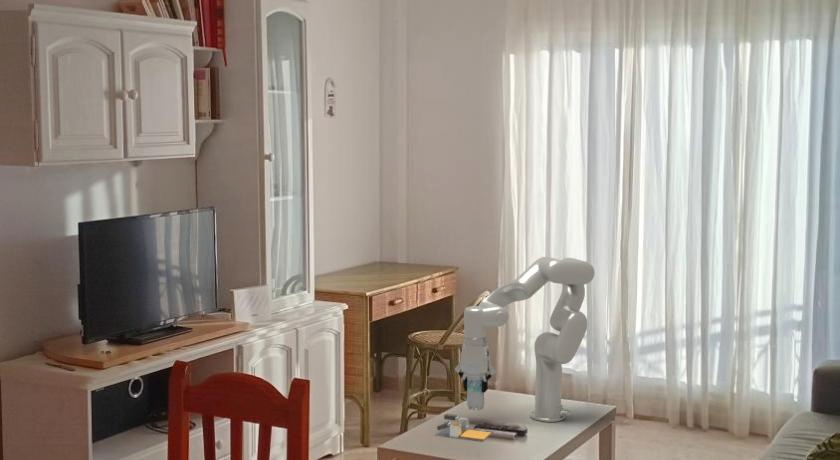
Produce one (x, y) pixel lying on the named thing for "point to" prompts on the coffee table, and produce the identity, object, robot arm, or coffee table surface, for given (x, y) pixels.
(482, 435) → the pad
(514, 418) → the coffee table surface
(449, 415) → the lever
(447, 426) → the lever
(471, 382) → the bottle
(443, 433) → the panel
